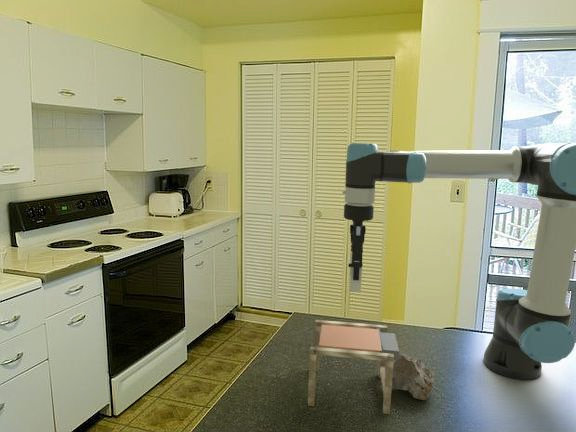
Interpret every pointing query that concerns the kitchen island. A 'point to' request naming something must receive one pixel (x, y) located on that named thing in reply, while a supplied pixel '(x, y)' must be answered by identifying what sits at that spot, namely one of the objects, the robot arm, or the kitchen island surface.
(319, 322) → the frame
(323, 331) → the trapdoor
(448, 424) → the kitchen island surface
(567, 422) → the kitchen island surface
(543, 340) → the robot arm
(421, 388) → the rock
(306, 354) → the kitchen island surface
